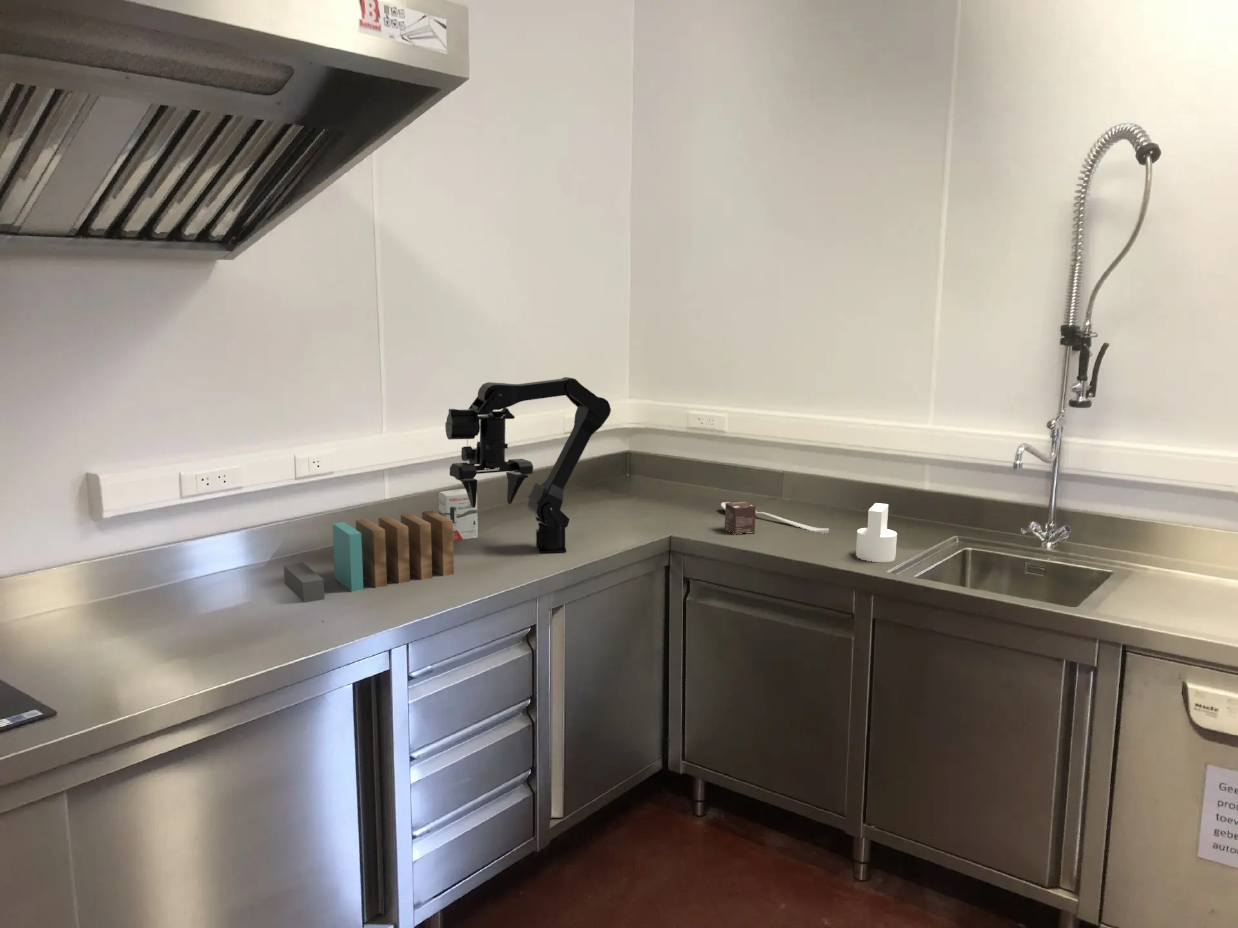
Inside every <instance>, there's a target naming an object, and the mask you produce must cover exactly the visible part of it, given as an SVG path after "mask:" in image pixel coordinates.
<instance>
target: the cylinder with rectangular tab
mask: <svg viewBox="0 0 1238 928" xmlns="http://www.w3.org/2000/svg"><path fill="white" fill-rule="evenodd" d="M867 513H868V515H867V527H862V528H859V529H857V533H856V545H855V548H856V549H855V550H856V551H855V557H856V556H857V557H856V558H857V559H859V558H860V560H862V561H865V560H866V562H871V561H872V562H871V563H888V562H889V563H890V562H893V561H895V560H896V556H897V555H896V553H897V539H898V538H897V537H898V533H897V532H896V531H894V530H892V529H888V518H889V517H888V516H889V503H888V504H887V503H879V502H875V503H874V504H873V505H872V506H871V507H870V508H869V509H868V512H867Z"/></svg>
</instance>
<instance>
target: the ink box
mask: <svg viewBox="0 0 1238 928" xmlns="http://www.w3.org/2000/svg"><path fill="white" fill-rule="evenodd" d="M438 514H440V515H442V516H444V517H446V518H448V519H451V520H453V542H455V541H462V540H469V539H476V538H478V533H479V532H478V531H479V529H478V525H479V524H478V495H477V496H476V506H475V508H473V507H472V506H471V503H470V501H469V498H468V495H467V492H466V489H465V488H460V489H453V490H451V489H450V490H444V491H440V492H438Z"/></svg>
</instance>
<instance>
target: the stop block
mask: <svg viewBox="0 0 1238 928" xmlns="http://www.w3.org/2000/svg"><path fill="white" fill-rule="evenodd" d="M283 574H284V575H283V576H284V578H283V579H284V585H285V586H286V587H287V588H288V589H289V590H291V592H292V593H294V594H295V596H297V597H298V598H299V599H300V600H301V601H302V602H303V603H308V602H315V601H319V600H324V599H325V582H324V579H323V577H321V576H320V575H319V574H317V573H316V572H315V571H314V570H313V569H311V568H310V566H308V565H307V563H306V562H305V563H304V562H298V563H290V564H284V565H283Z"/></svg>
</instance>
